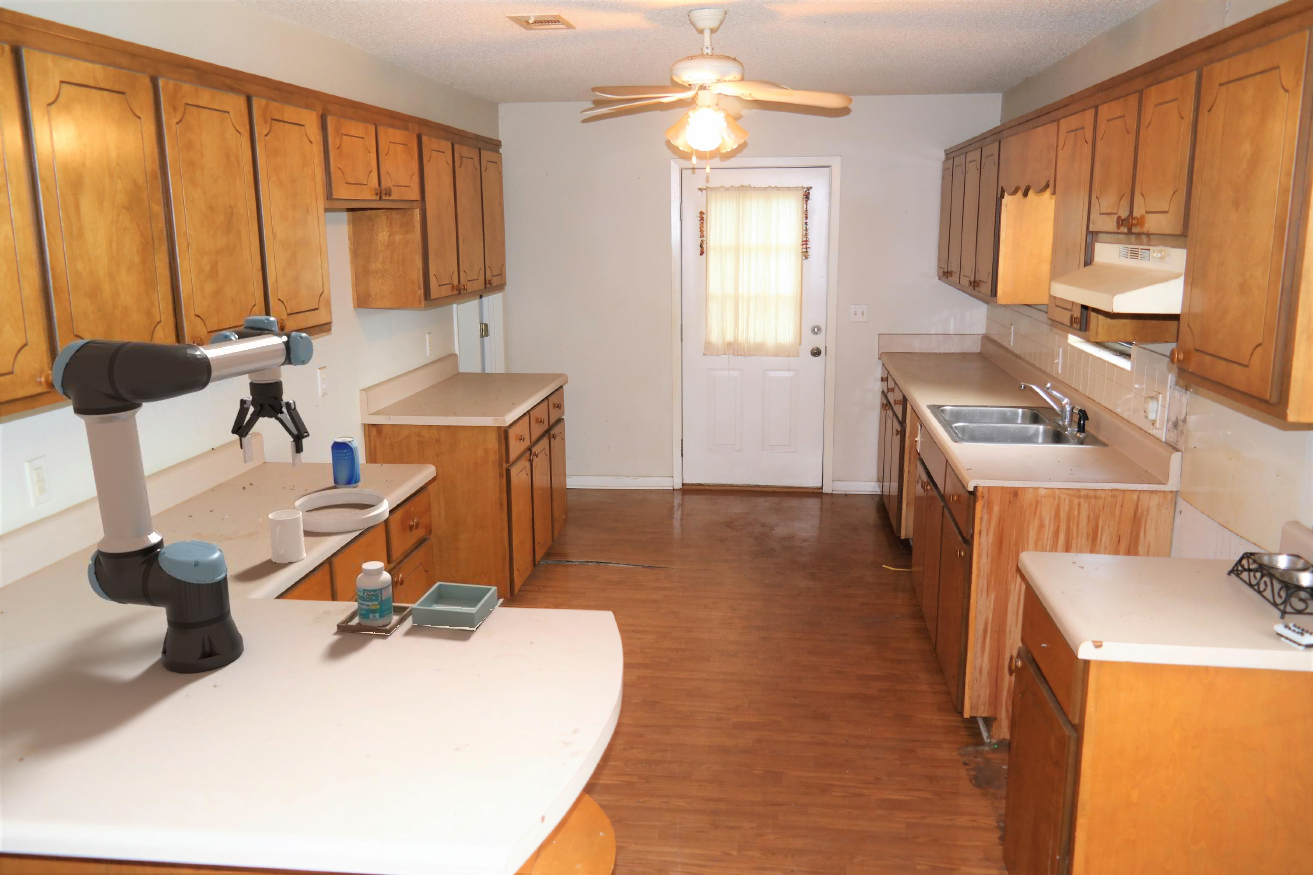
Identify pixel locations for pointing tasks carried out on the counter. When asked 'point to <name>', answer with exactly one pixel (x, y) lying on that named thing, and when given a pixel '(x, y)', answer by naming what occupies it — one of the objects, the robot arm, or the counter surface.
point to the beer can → (345, 462)
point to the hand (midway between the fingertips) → (272, 464)
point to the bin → (454, 605)
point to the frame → (345, 626)
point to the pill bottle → (374, 595)
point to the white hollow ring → (345, 519)
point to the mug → (286, 536)
